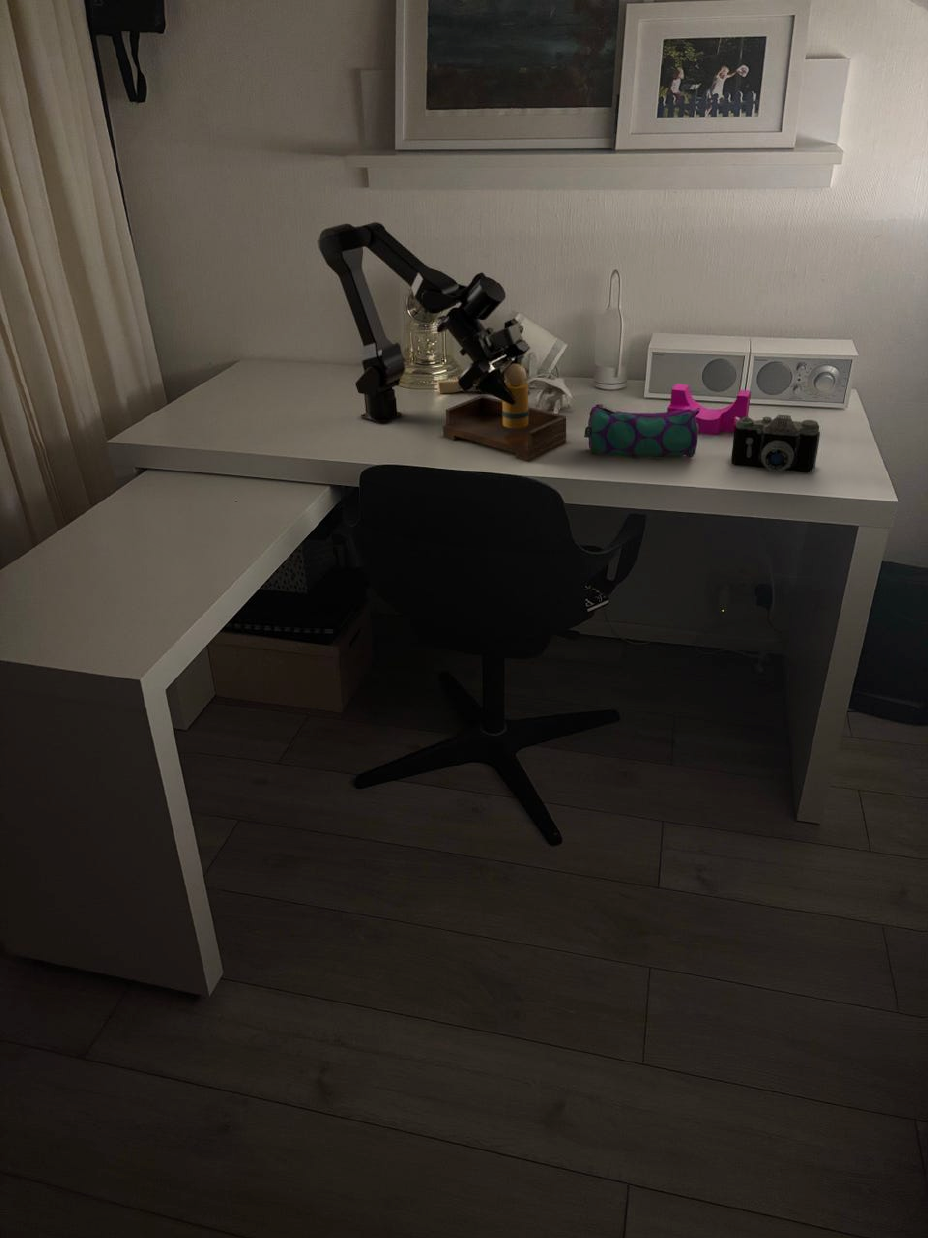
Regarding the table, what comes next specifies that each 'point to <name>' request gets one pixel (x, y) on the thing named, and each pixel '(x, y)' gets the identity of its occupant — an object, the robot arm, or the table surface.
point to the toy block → (710, 410)
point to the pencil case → (642, 433)
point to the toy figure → (453, 386)
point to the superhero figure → (551, 393)
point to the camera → (776, 444)
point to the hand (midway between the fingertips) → (521, 399)
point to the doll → (516, 398)
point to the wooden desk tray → (505, 428)
